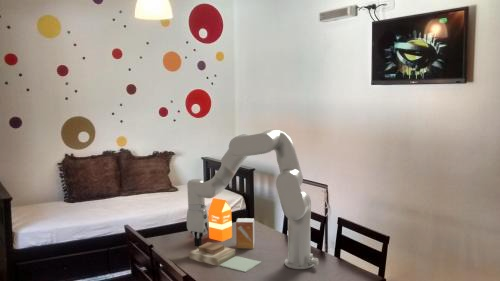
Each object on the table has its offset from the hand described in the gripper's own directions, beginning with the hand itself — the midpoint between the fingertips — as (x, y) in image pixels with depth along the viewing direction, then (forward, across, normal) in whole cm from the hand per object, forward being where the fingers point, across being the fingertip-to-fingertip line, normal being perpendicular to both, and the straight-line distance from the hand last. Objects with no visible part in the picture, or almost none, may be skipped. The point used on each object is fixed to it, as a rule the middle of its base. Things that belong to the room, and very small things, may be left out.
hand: (198, 245), depth 215 cm
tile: (+1, -8, 0) cm, 8 cm away
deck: (+4, -8, 0) cm, 9 cm away
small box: (+4, -13, -19) cm, 24 cm away
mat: (+4, -24, 0) cm, 24 cm away
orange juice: (+4, +5, -23) cm, 24 cm away
